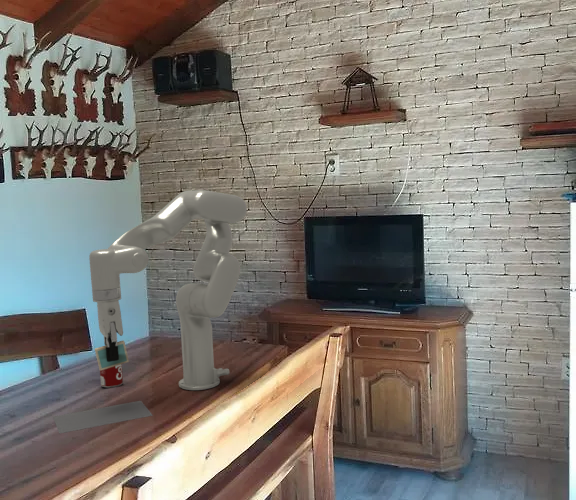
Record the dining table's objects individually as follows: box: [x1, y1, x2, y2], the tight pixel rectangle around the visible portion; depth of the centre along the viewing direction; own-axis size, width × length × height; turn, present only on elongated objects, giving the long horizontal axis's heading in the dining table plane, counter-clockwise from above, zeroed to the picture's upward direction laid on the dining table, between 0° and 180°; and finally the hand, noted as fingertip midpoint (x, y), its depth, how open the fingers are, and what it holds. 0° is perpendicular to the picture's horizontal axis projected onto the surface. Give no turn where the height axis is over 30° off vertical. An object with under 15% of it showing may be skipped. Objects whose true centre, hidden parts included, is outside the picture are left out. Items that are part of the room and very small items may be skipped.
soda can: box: [99, 364, 124, 389], centre depth 205 cm, size 7×7×12 cm
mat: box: [52, 400, 153, 435], centre depth 177 cm, size 24×14×1 cm, turn 116°
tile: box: [94, 340, 130, 372], centre depth 181 cm, size 8×2×6 cm, turn 116°
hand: (112, 359), depth 181 cm, fingers closed on tile, 1 cm apart
